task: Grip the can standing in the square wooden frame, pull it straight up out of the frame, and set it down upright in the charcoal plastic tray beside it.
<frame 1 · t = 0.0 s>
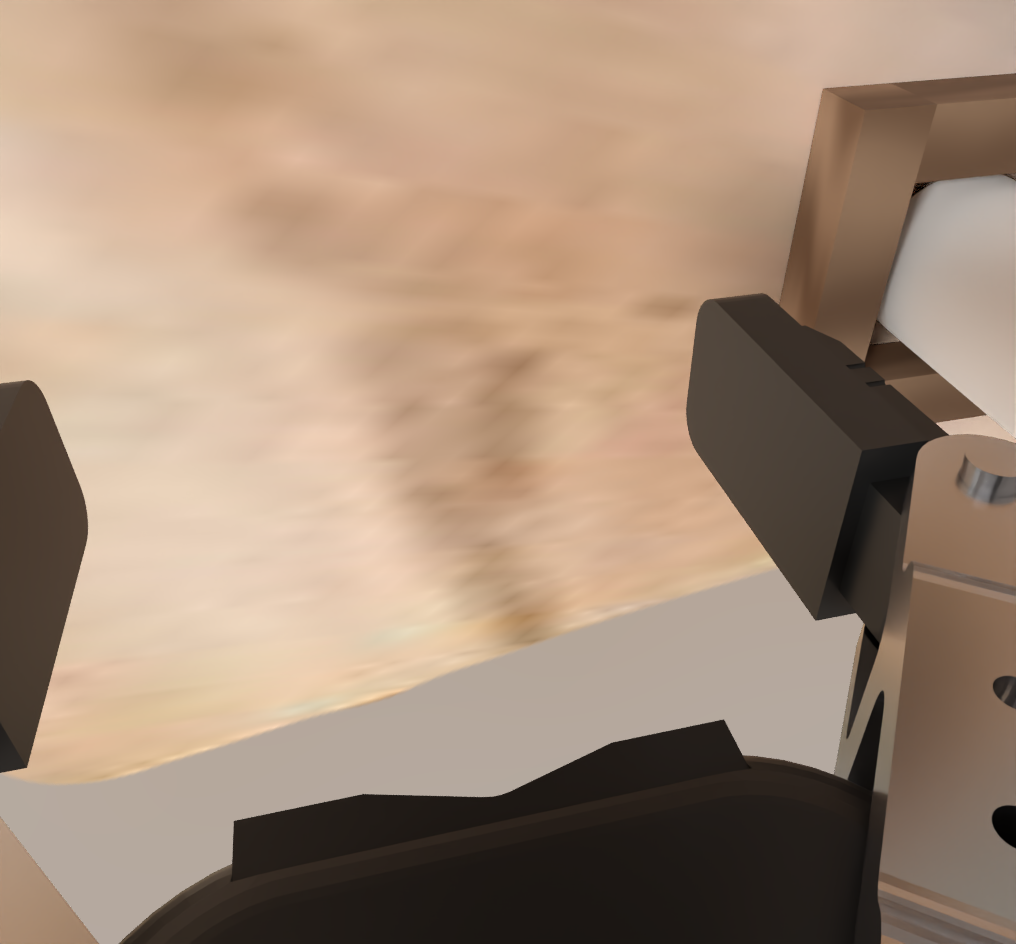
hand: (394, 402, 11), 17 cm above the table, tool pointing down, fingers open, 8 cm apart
can: (934, 249, 32), resting in square wooden frame
square wooden frame: (938, 251, 32), on the table
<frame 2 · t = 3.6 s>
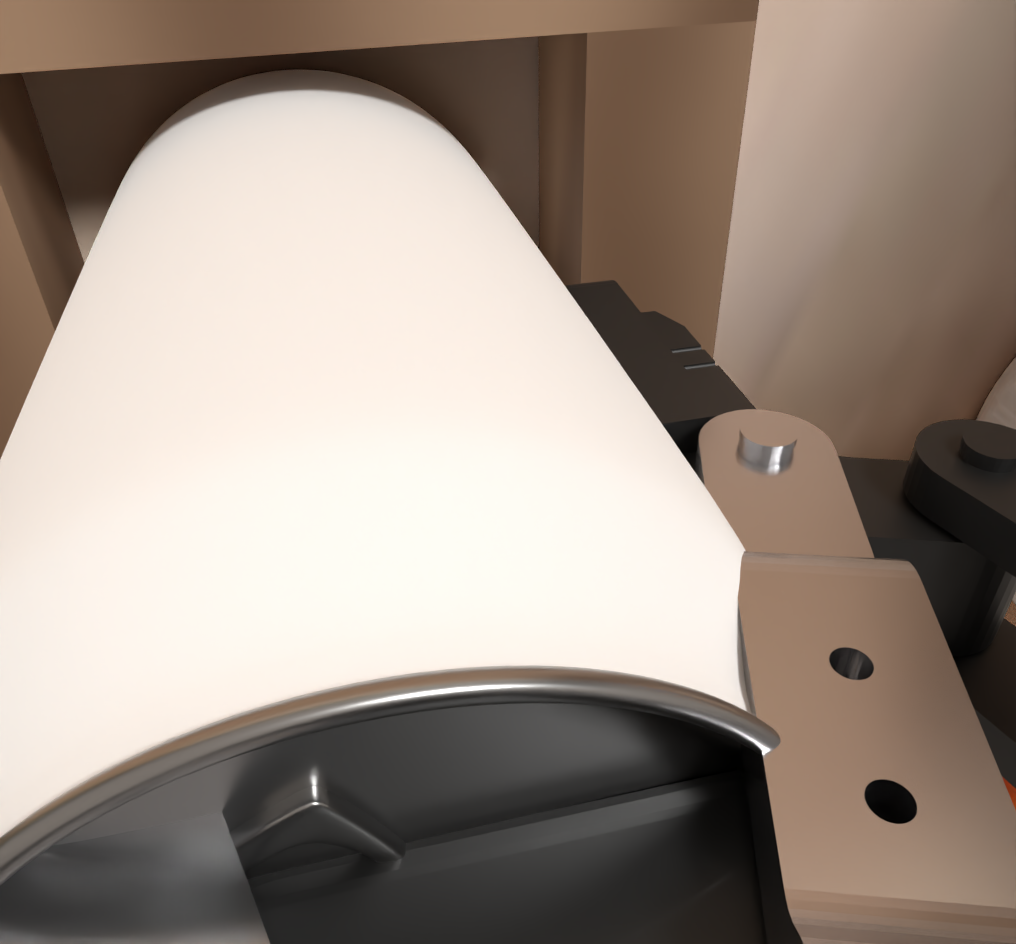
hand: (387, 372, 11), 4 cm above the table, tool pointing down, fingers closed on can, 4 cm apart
can: (316, 261, 15), resting in square wooden frame, touching gripper
square wooden frame: (326, 268, 15), on the table
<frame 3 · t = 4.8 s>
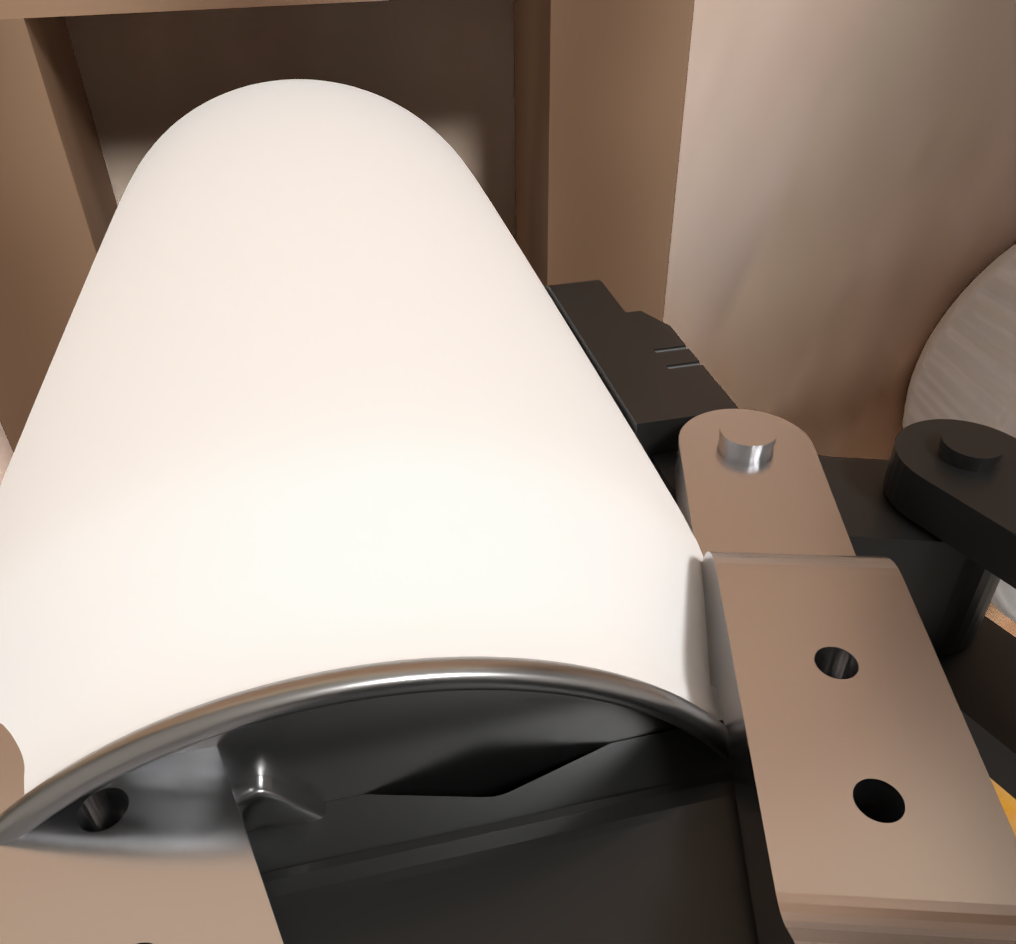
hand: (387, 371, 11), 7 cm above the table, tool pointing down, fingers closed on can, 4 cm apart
can: (315, 263, 15), point 2 cm above the table, touching gripper
fruit: (900, 721, 33), on the table
square wooden frame: (326, 206, 17), on the table
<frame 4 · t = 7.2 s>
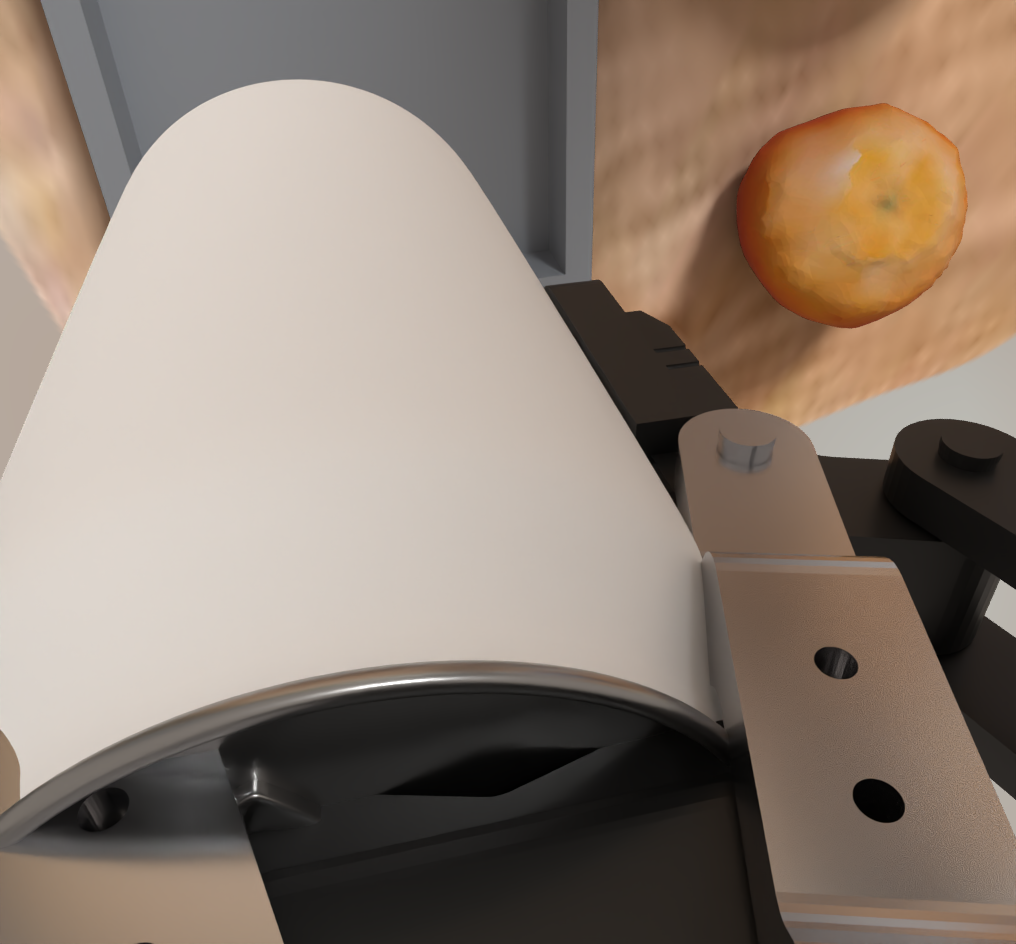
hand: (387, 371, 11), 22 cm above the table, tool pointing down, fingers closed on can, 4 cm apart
can: (314, 264, 15), point 17 cm above the table, touching gripper
fruit: (802, 188, 35), on the table
tray: (342, 69, 29), on the table
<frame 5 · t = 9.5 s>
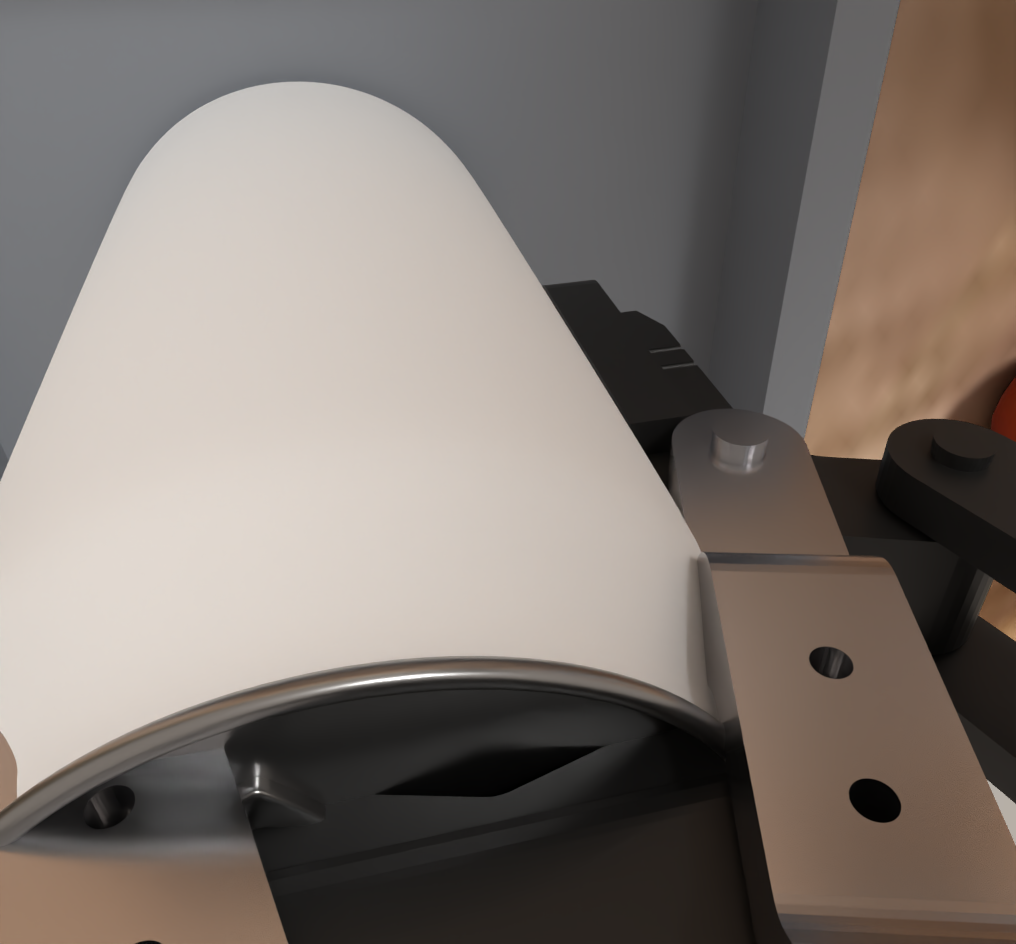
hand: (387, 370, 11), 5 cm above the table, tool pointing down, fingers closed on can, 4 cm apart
can: (314, 266, 15), resting on tray, touching gripper
tray: (359, 236, 16), on the table
when the fingers open (5 cm above the table, at t = 9.8 s): can stays where it is, resting on tray.
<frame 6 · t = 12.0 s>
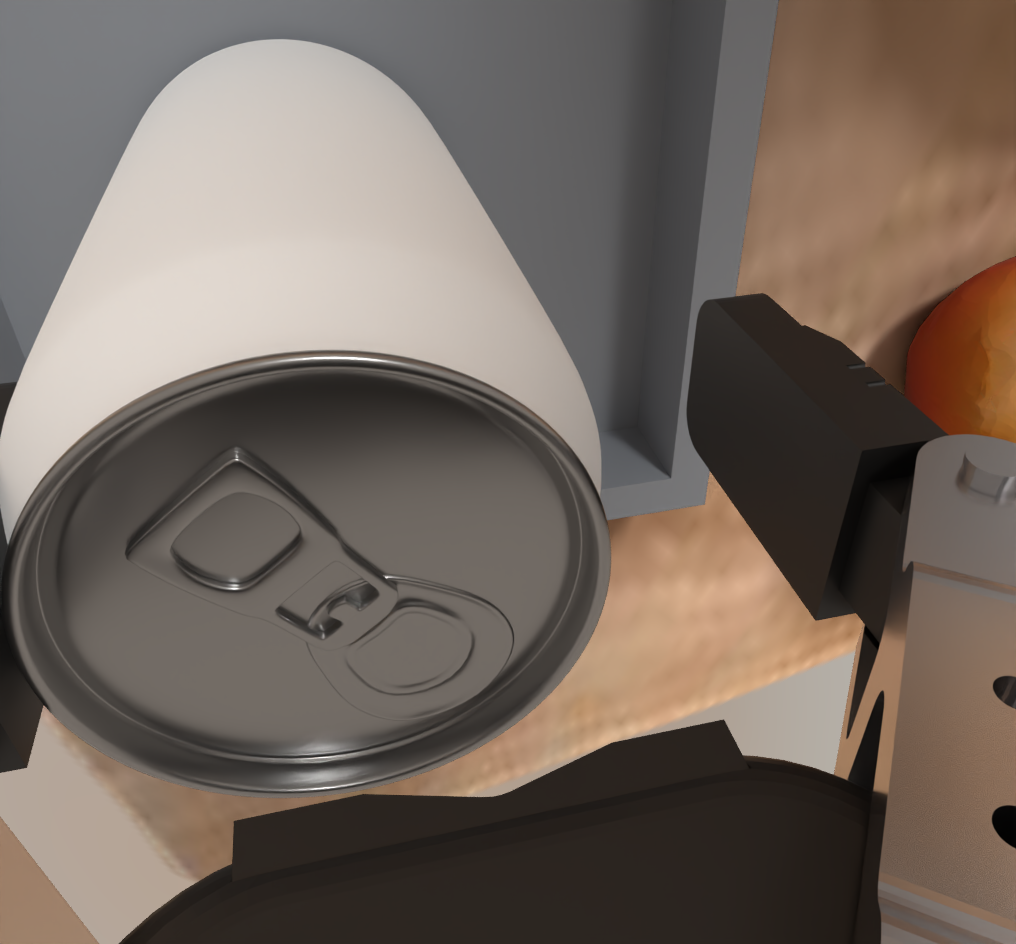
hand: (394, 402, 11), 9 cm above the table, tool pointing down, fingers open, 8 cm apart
can: (297, 204, 18), resting on tray
fruit: (990, 329, 25), on the table
tray: (336, 179, 18), on the table
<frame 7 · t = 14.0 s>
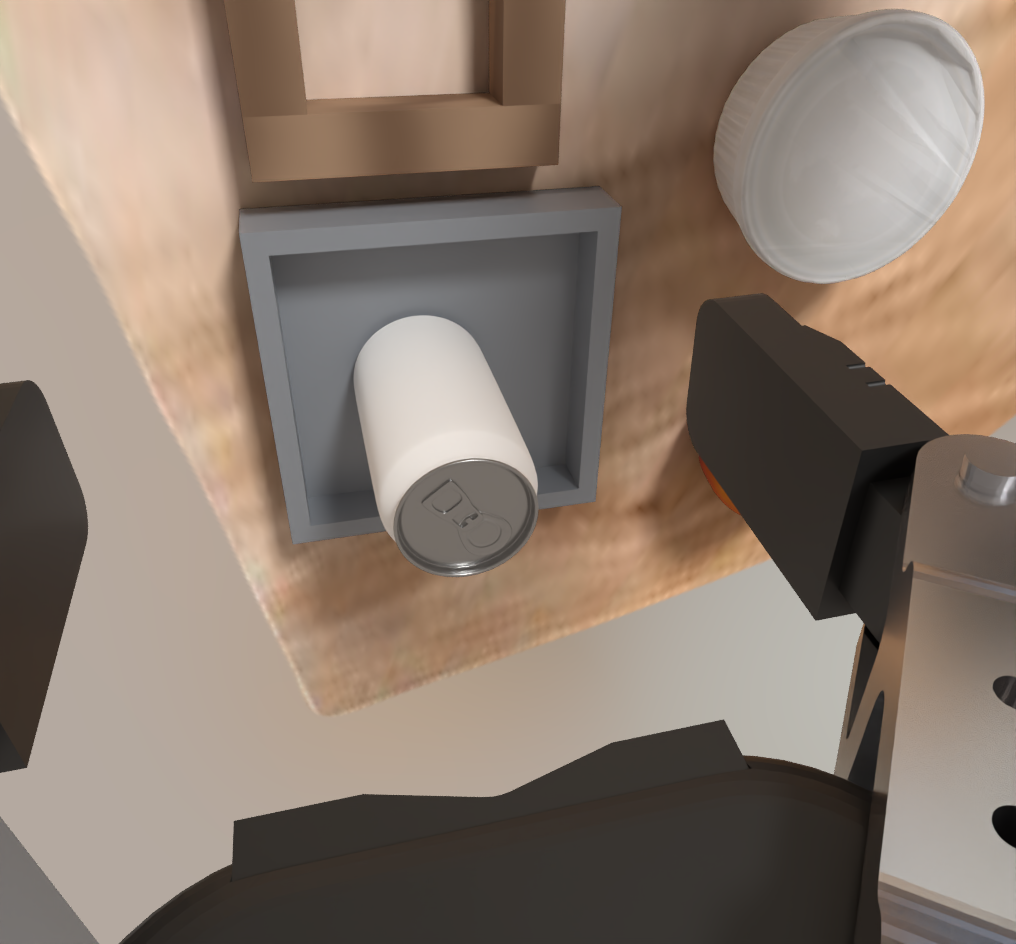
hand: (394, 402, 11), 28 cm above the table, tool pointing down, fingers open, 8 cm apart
can: (418, 370, 42), resting on tray
ramekin: (800, 128, 41), on the table
fruit: (743, 417, 50), on the table
tray: (434, 358, 42), on the table
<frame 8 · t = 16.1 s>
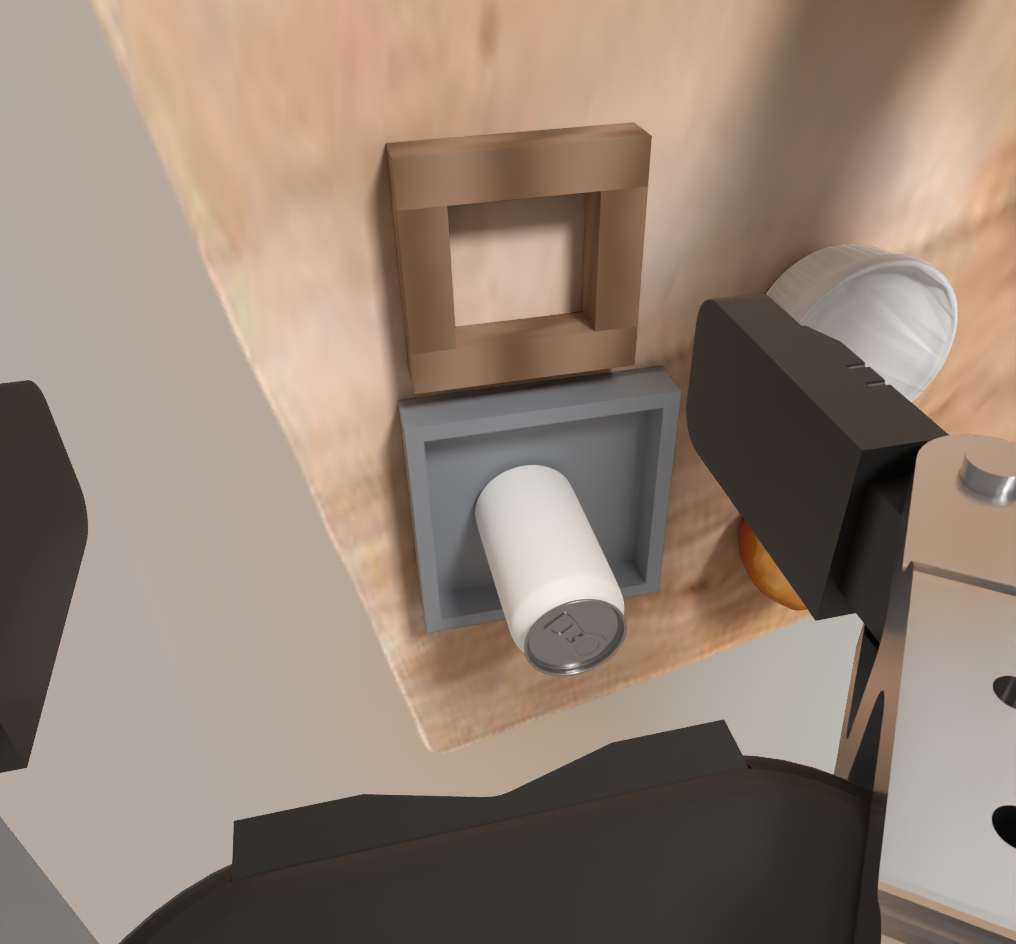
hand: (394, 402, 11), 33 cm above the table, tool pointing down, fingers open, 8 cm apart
can: (522, 500, 55), resting on tray
ramekin: (818, 313, 52), on the table
fruit: (775, 517, 62), on the table
square wooden frame: (514, 254, 45), on the table
tray: (534, 490, 55), on the table
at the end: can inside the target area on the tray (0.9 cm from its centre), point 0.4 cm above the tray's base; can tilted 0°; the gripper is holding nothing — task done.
